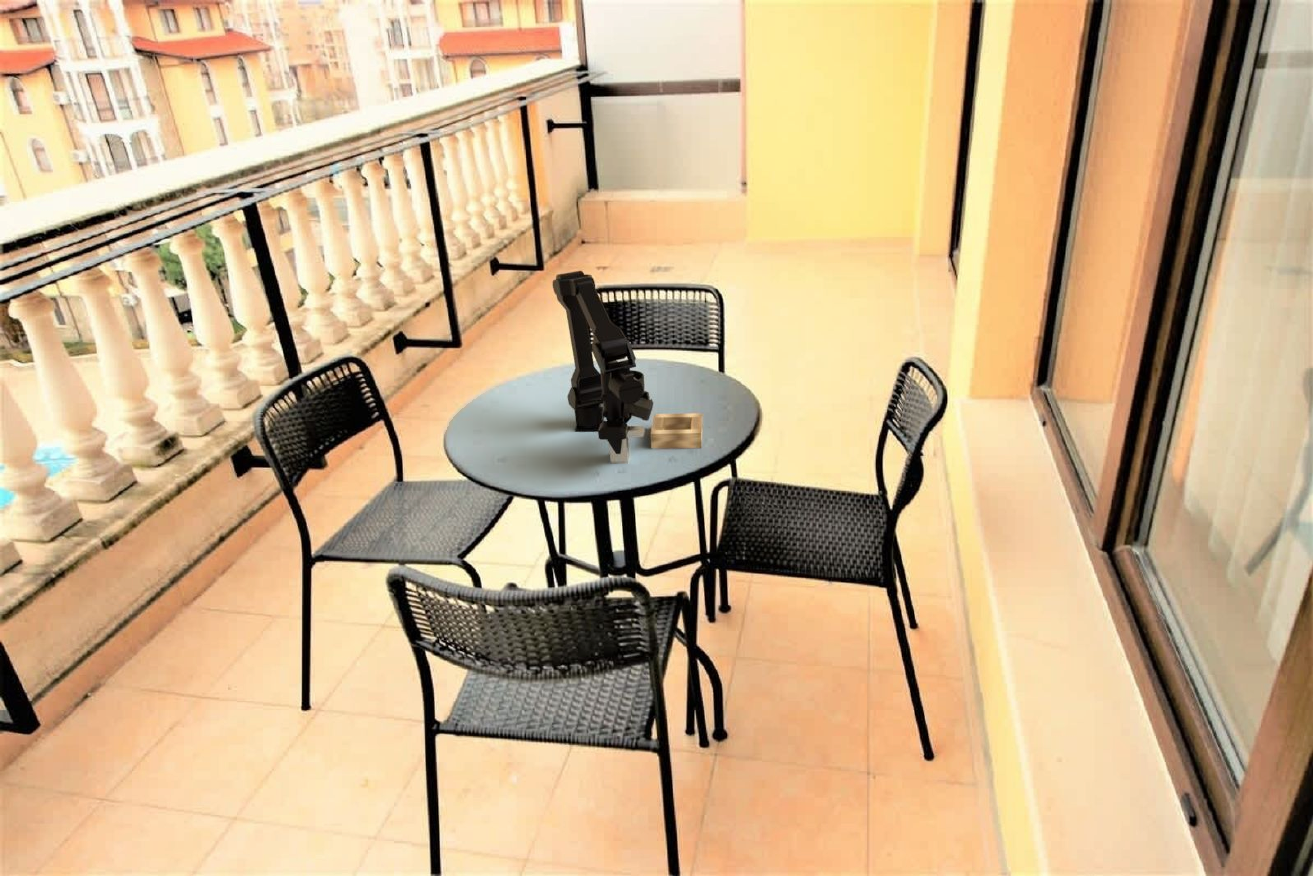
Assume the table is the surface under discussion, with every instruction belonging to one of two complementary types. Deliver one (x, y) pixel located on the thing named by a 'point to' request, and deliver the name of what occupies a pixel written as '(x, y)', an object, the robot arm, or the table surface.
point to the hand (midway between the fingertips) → (619, 449)
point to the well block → (676, 431)
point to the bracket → (626, 445)
